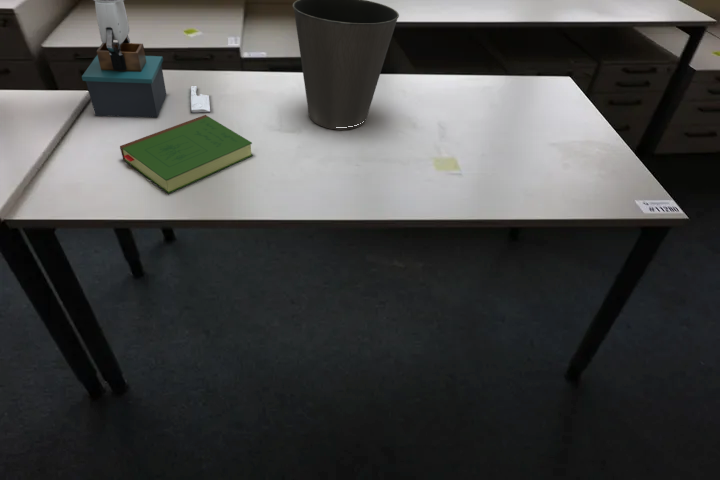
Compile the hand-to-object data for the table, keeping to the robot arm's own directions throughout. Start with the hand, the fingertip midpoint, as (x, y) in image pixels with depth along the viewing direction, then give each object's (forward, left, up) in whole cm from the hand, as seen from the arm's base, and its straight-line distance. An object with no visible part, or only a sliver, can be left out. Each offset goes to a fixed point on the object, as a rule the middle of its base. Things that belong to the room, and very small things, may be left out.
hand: (123, 63), depth 137 cm
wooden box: (0, 0, -1) cm, 1 cm away
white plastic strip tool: (+18, +4, -12) cm, 22 cm away
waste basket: (+58, -3, -12) cm, 59 cm away
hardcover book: (+19, -27, -12) cm, 35 cm away
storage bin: (0, 0, -12) cm, 12 cm away
